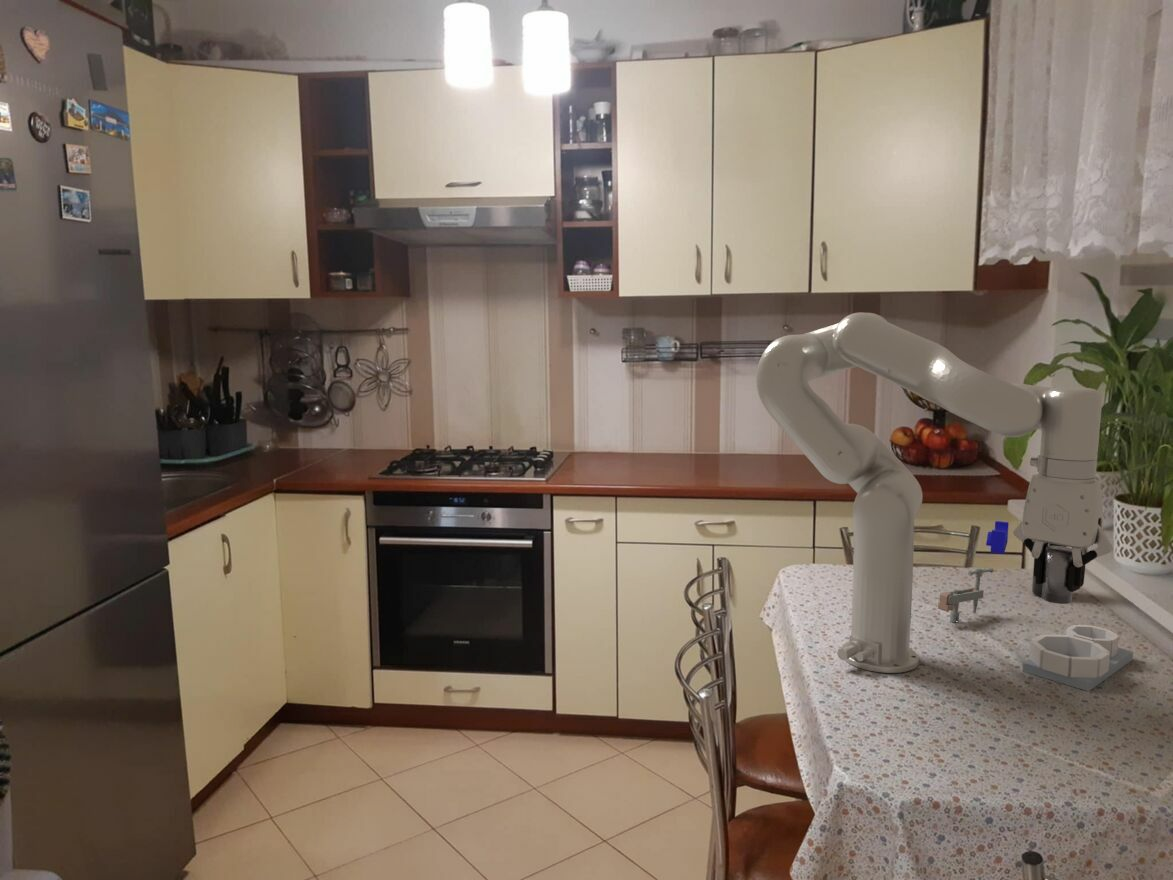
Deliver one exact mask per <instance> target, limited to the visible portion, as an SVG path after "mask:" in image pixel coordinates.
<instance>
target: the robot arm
mask: <svg viewBox="0 0 1173 880" xmlns="http://www.w3.org/2000/svg"><path fill="white" fill-rule="evenodd" d="M853 368H860V369H861V370H864V371H866V372H869V373H871V374H873V375H875V376H877V377H879V378H882V379H884V380H886V381H889V382H890V383H892V384H895V385H896V386H899V387H901V388H903V389H904V390H907V391H909V392H911V393H913V394H915V395H917V396H918V397H920V398H922V399H924V400H926V401H927V402H930V403H932V404H934V405H936V406H938V407H941V408H942V409H944V410H946V411H948V412H949V413H952V414H954V415H955V416H957V417H959V418H962V419H964V420H966V421H967V422H970V423H972V424H975V425H976V426H979V427H981V428H983V429H985V430H987V431H990V432H991V433H994V434H996V435H999V436H1001V437H1008V438H1020V437H1023V436H1026V435H1028V434H1030V433H1032V432H1033V431H1035V430H1040V431H1041V437H1040V448H1039V449H1040V451H1039V454H1038V456H1037V457H1034V456H1033V457H1031V458H1030V460H1029V465H1030V466H1031V467H1035V468H1037V469H1036V470H1037V471H1036V472H1037V473H1035V474H1032V475H1031V478H1030V482H1029V485H1028V488H1027V492H1026V496H1025V501H1024V507H1023V513H1022V519H1021V522H1020V523H1019V524H1018V525H1017V527H1016V528H1014V530H1013V532H1012V534H1013V536H1014V537H1016V538H1017V539H1018V540H1019V541H1021V542H1022V543H1023V544H1024V545H1025V547H1026V548H1027V549H1028V551H1029V552H1030V554H1031V557H1032V558H1033V568H1034V572H1033V573H1032V576H1033V575H1034V576H1035V577H1036V580H1035V583H1036V584H1042V583H1043V576H1044V563H1045V551H1046V547H1047V546H1049V544H1050V543H1051V544H1057V545H1062V546H1067V547H1068V548H1072V555H1073V565H1071V566H1070V567H1069V575H1068V587H1067V590H1068V591H1070V592H1072V593H1074V592H1076V591H1077V590H1080V589H1081V588H1082V587H1083V586H1084V583H1085V574H1086V565H1087V564H1089V563H1091V561H1094V560H1095V559H1097V558H1098V557H1102V556H1106V555H1107V554H1110V553H1112V552H1113V551H1114V547H1113V546H1112V544H1111V542H1110V540H1109V539H1108V536H1107V535H1106V533H1105V531H1104V503H1103V495H1102V493H1103V492H1102V491H1103V490H1102V485H1101V481H1100V480H1099V479H1097V478H1096V477H1097V466H1098V465H1097V463H1098V456H1099V455H1098V452H1099V443H1100V442H1099V441H1100V429H1101V418H1102V407H1103V397H1102V394H1101V393H1100V391H1099V390H1097V389H1095V388H1090V387H1083V386H1082V387H1081V386H1056V387H1046V386H1039V385H1032V384H1027V383H1018V382H1017V383H1015V382H1014V383H1010V382H1007V381H1005V380H1002V378H1001V379H1000V378H999V377H996V376H995V375H993V374H992V375H991V374H989V373H987V372H985V371H982V370H980V369H978V368H976V367H975V366H973V365H970V364H969V363H967V362H965V361H963V360H962V359H961V358H959V357H957V356H956V355H955V354H954V353H952V352H951V351H950V350H949V349H947V348H946V347H945V346H943V345H941V344H940V343H937V342H935V341H932V340H930V339H927V338H925V337H923V336H921V335H919V334H915V333H913V332H911V331H909V330H907V329H904V328H903V327H902V328H901V327H900V326H897V325H896V324H893V323H891V322H888V320H887V319H886V318H884V317H883V316H881V315H879V314H878V313H877V314H876V313H873V312H862V311H860V312H854V313H851V314H848V315H847V316H844V318H843V319H841V320H840V321H839V322H838V323H835V324H832V325H829V326H828V325H827V326H825V327H822V328H819V329H816V330H813V331H809V332H806V333H802V334H788V335H784V336H781V337H779V338H776V339H774V340H773V341H772V342H770V344H769V345H768V346H767V347H766V348H765V350H763V352H762V354H761V357H760V358H759V362H758V365H757V369H756V378H755V379H756V381H755V383H756V388H757V393H758V396H759V399H760V400H761V403H762V405H763V407H764V408H765V410H766V411H767V413H768V414H769V416H771V418H772V419H773V420H774V421H775V422H776V424H777V425H778V426H779V427H780V428H781V429H782V430H783V432H785V434H786V435H787V436H788V437H789V438H790V440H791V441H792V442H793V444H795V446H796V447H797V448H798V449H799V451H801V452H802V454H804V455H805V457H806V458H807V459H808V460H809V461H810V462H811V463H812V465H813V466H814V467H815V468H816V470H817V471H819V473H820V474H821V475H822V476H823V477H824V478H825V479H827V480H828V481H829V482H832V483H834V484H838V485H844V484H845V485H847V484H848V485H849V486H850V488H852V489H853V490H854V491H855V492H856V493H857V494H856V496H855V499H854V502H853V505H852V506H853V507H852V528H853V529H852V530H853V557H852V558H853V559H852V561H853V563H852V569H853V573H852V575H853V576H852V598H851V599H852V603H851V626H850V635H849V639H848V641H847V642H845V643H844V644H842V645H841V647H840V648H839V649H837V652H836V653H837V654H836V655H837V658H839V660H840V661H845V662H846V663H848V664H849V665H852V666H853V667H855V668H859V669H862V670H865V671H870V672H875V673H883V674H896V673H897V674H898V673H899V674H900V673H906V672H910V671H912V670H914V669H917V667H918V665H919V660H920V659H919V657H920V656H919V654H918V653H917V652H916V651H915V650H914V649H912V648H910V644H911V643H910V641H911V623H912V621H911V620H912V599H913V581H914V553H915V552H914V551H915V549H914V548H915V545H914V543H915V542H914V536H915V535H914V534H915V533H914V532H915V531H914V530H915V519H916V516H917V514H918V512H919V511H920V509H921V507H922V503H923V491H922V490H923V489H922V486H921V485H920V483H919V481H918V480H917V479H916V477H915V476H914V475H913V473H912V472H911V471H910V470H909V469H908V468H907V466H905V465H904V464H903V462H902V461H900V459H899V458H897V456H896V455H895V454H894V453H893V452H892V451H891V450H890V449H889V447H887V446H886V444H885V443H884V442H882V440H881V438H879V437H878V436H877V435H876V434H874V432H872V431H871V430H870V429H869V428H867V427H865V426H863V425H861V424H855V423H846V422H845V421H843V420H842V418H841V417H840V416H839V415H838V414H837V413H836V412H835V411H834V410H833V409H832V408H831V406H830V405H829V404H828V403H827V402H826V401H825V400H824V399H823V398H822V397H821V396H820V395H818V394H817V393H816V392H815V391H814V390H813V389H812V388H811V386H810V384H809V382H811V381H814V380H816V379H820V378H823V377H826V376H830V375H833V374H837V373H841V372H844V371H847V370H850V369H853ZM1093 545H1097V547H1096V548H1093V549H1091V550H1089V549H1088V548H1090V547H1091V546H1093ZM1034 558H1035V559H1034Z"/></svg>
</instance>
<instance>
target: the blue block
mask: <svg viewBox="0 0 1173 880" xmlns="http://www.w3.org/2000/svg"><path fill="white" fill-rule="evenodd" d="M994 522H995V523H994V529H992V530H991V531H988V533H987V535H986V536H987V537H986V543H985V546H988V547H990V553H994V554H995V553H996V554H1002V555H1003V554H1005V552H1006V548H1007V546H1008V545H1007V544H1008V538H1009V521H999V520H995V521H994Z"/></svg>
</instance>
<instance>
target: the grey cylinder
mask: <svg viewBox="0 0 1173 880" xmlns="http://www.w3.org/2000/svg"><path fill="white" fill-rule="evenodd" d="M1071 565H1073V555H1072V547H1063V546H1047V547H1046V551H1045V563H1044V576H1043V589H1042V598H1041V599H1042V600H1044V601H1046V602H1048V603H1052V604H1058V605H1066V604H1067V605H1068V604H1071V603H1072V597H1073V592H1070V591H1068V590H1067V587H1068V575H1069V567H1070V566H1071Z"/></svg>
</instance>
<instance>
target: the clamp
mask: <svg viewBox="0 0 1173 880" xmlns="http://www.w3.org/2000/svg"><path fill="white" fill-rule="evenodd" d="M974 569H975V570H968V572H967V574H968V576H973V575H974V576H975V584H974V587H970V588H969V587H968V588H964V589H963V588H962V589H954V590H952V591H944V592H941V593H940V594H939V602H938V605H937V609H938V610H941V611H943V612H948V613H949V611H951V612H950V617H949V622H950V623H953V622H956V621H959V620H960V612H959V606H960V603H965V602H970V601H972V602H973V603H972V608H973V609H972V613H974V614H975V613H977V607H978V604H979V603H978V602H979V600H980V599H983V598H984V590H983V589H980V585H981V577H982V576H983V574H984V573H993V572H994V571H995V570H994V568H993V567H990V568H988V569H983V568H982V567H975V568H974Z"/></svg>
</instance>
